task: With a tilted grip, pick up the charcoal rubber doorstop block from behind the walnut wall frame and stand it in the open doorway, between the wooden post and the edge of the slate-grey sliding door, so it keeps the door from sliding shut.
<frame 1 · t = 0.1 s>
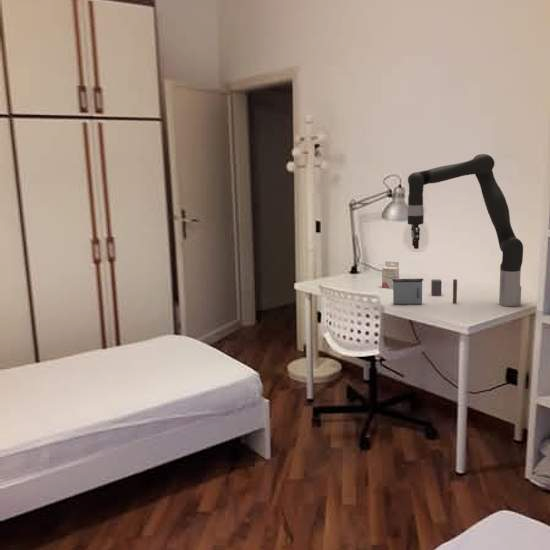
hand: (415, 247, 283), 29 cm above the table, tool pointing down, fingers open, 8 cm apart
doorstop block: (436, 295, 307), on the table
sliding door: (407, 292, 289), point 6 cm above the table, slide at 14.0 cm
wall frame: (422, 303, 291), on the table
ink cartridge box: (390, 287, 329), on the table
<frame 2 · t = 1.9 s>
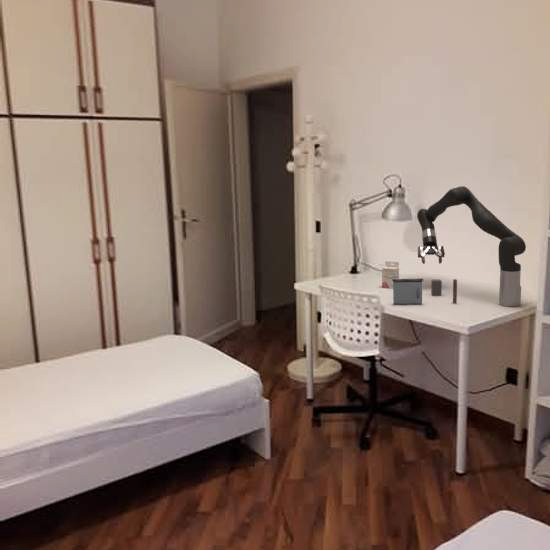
hand: (432, 263, 315), 15 cm above the table, tool tilted 45°, fingers open, 8 cm apart
nothing on the table moved.
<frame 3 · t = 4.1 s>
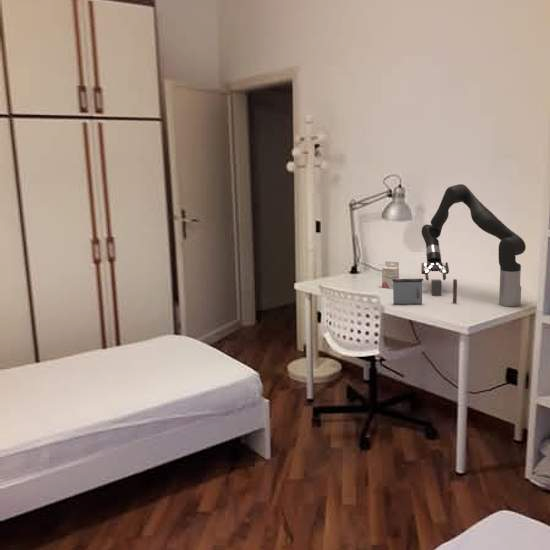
hand: (435, 279, 308), 8 cm above the table, tool tilted 45°, fingers open, 8 cm apart
nothing on the table moved.
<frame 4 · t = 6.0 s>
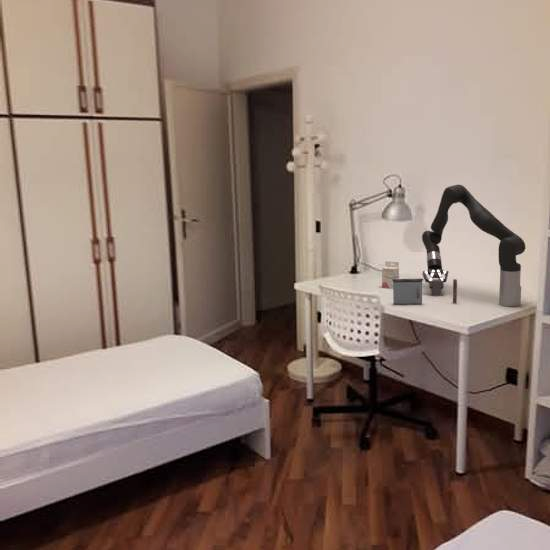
hand: (436, 288, 304), 4 cm above the table, tool tilted 45°, fingers closed on doorstop block, 4 cm apart
doorstop block: (436, 294, 307), on the table, touching gripper
everything else where it was.
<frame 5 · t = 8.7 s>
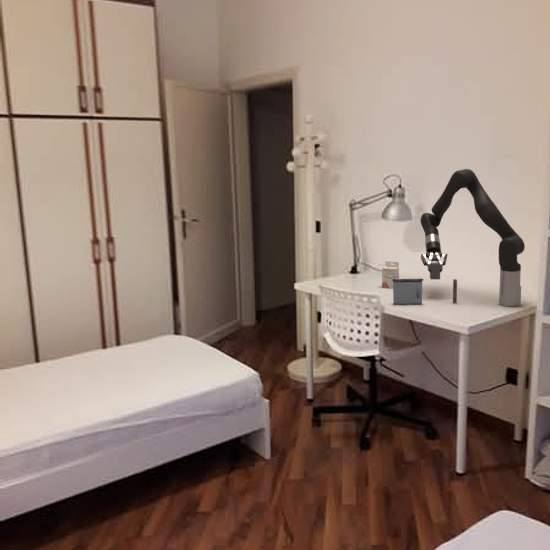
hand: (435, 271, 296), 15 cm above the table, tool tilted 45°, fingers closed on doorstop block, 4 cm apart
doorstop block: (434, 278, 298), point 11 cm above the table, touching gripper
everything else where it was.
when the fingers open (5 cm above the table, at t = 11.7 s): doorstop block stays where it is, on the table.
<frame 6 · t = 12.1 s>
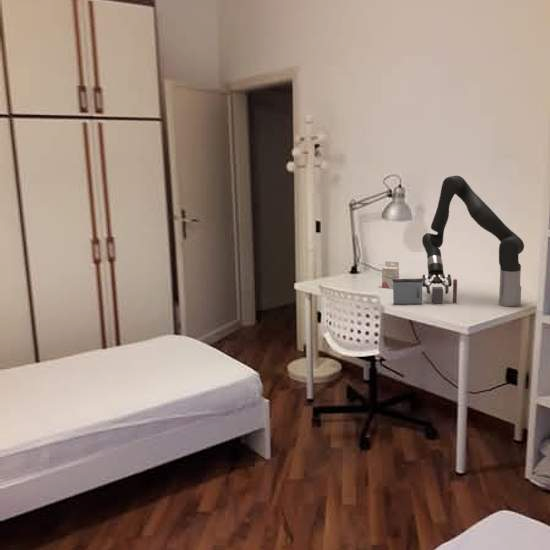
hand: (437, 293, 288), 6 cm above the table, tool tilted 45°, fingers open, 8 cm apart
doorstop block: (437, 303, 290), on the table
everything else where it was.
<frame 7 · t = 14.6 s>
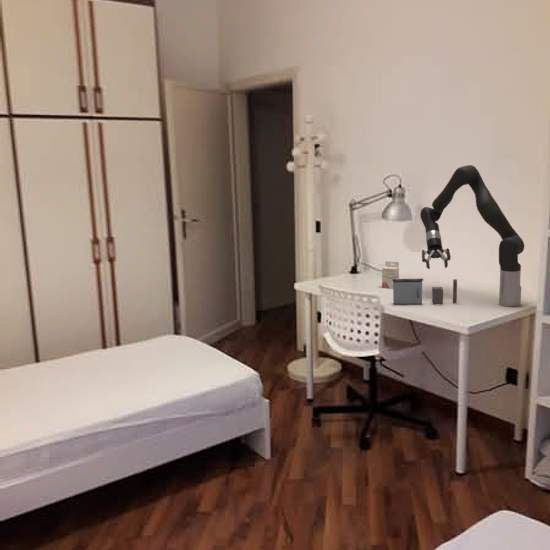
hand: (437, 267, 297), 16 cm above the table, tool tilted 40°, fingers open, 8 cm apart
nothing on the table moved.
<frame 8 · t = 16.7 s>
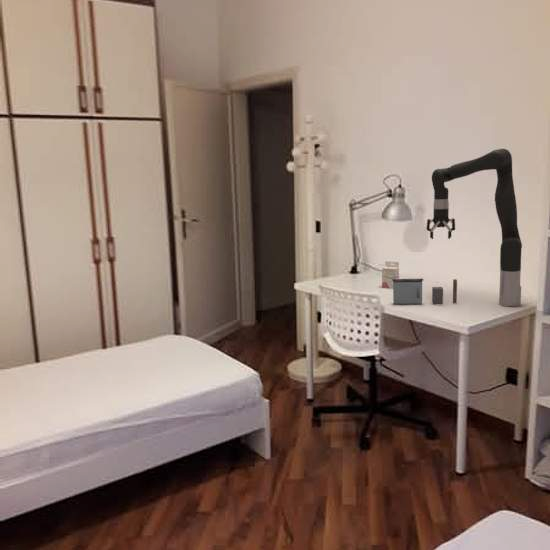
hand: (440, 238, 302), 30 cm above the table, tool pointing down, fingers open, 8 cm apart
nothing on the table moved.
at the end: doorstop block inside the target area (0.0 cm from its centre), on the table; doorstop block tilted 0°; sliding door slide at 14.0 cm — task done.
